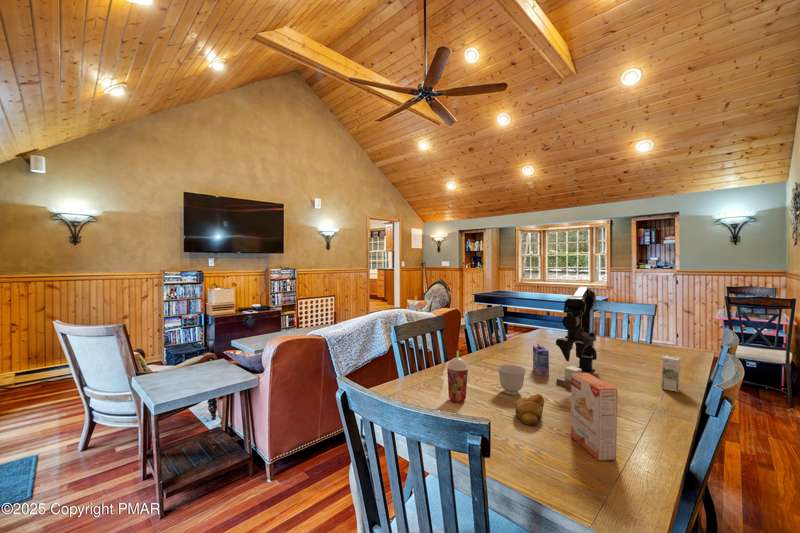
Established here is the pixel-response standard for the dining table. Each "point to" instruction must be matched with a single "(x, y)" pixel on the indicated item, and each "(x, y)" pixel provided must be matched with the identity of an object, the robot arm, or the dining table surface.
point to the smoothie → (457, 379)
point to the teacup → (511, 378)
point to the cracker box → (594, 415)
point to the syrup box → (671, 373)
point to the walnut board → (564, 382)
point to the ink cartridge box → (541, 360)
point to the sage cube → (571, 370)
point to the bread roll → (530, 409)
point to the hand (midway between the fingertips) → (573, 359)
